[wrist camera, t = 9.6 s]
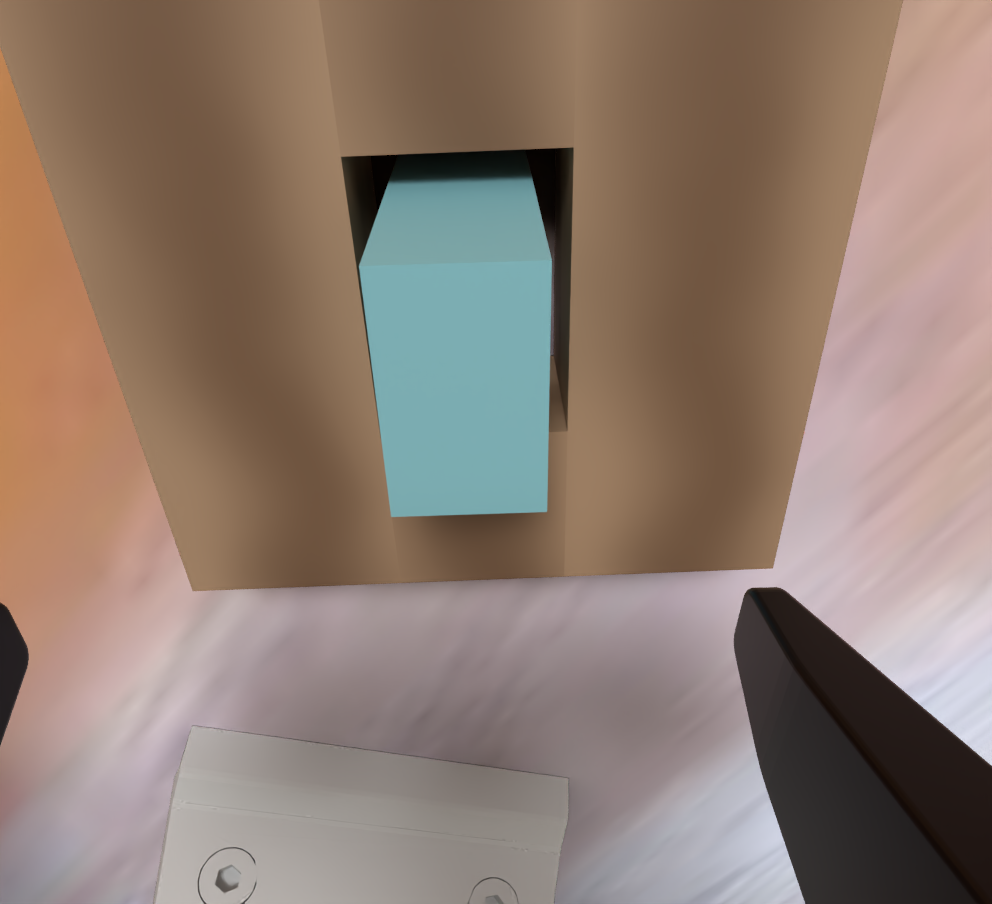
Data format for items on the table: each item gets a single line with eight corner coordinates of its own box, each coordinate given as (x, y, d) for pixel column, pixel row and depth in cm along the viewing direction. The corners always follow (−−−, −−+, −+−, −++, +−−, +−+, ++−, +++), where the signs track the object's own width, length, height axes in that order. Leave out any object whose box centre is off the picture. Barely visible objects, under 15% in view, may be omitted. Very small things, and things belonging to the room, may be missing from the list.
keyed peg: (416, 336, 21) (390, 517, 15) (400, 147, 18) (358, 265, 12) (524, 332, 21) (546, 512, 15) (524, 144, 18) (551, 260, 12)
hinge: (577, 779, 33) (576, 1073, 27) (544, 801, 37) (537, 1065, 31) (181, 723, 31) (84, 1037, 25) (189, 753, 34) (107, 1032, 28)
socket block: (231, 502, 24) (192, 591, 21) (50, -126, 15) (-67, -143, 12) (732, 482, 24) (772, 568, 21) (843, -158, 15) (945, -184, 12)
